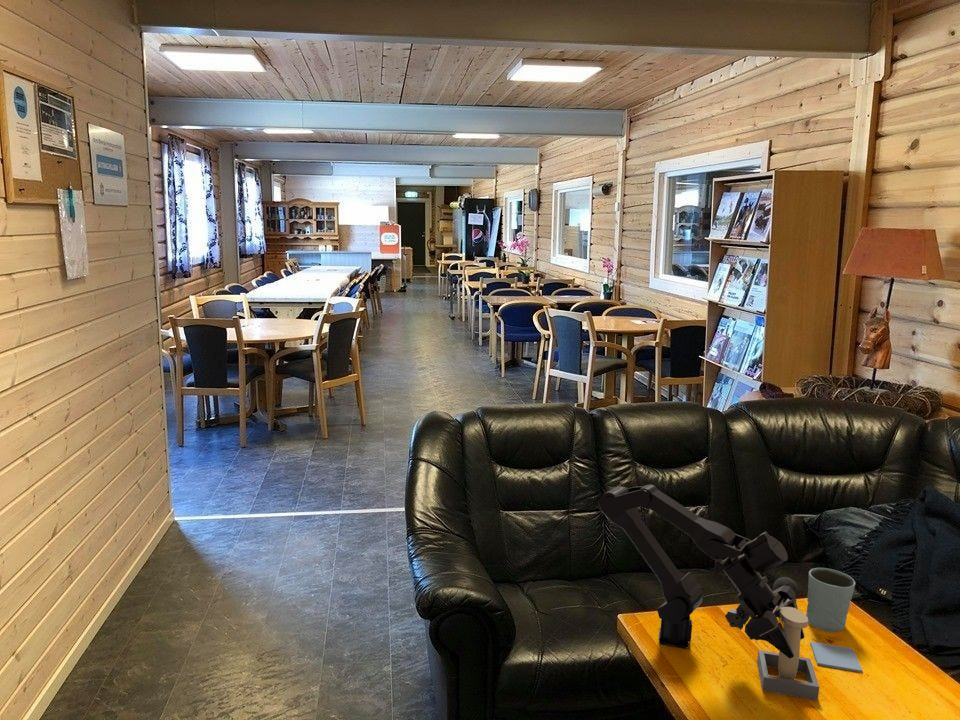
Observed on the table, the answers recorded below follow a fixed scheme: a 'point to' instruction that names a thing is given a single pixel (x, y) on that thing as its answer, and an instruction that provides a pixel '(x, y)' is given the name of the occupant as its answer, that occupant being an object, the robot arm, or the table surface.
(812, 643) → the mat
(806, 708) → the table surface
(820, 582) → the grey cup
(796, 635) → the handle
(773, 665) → the grey square frame
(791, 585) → the light bulb
